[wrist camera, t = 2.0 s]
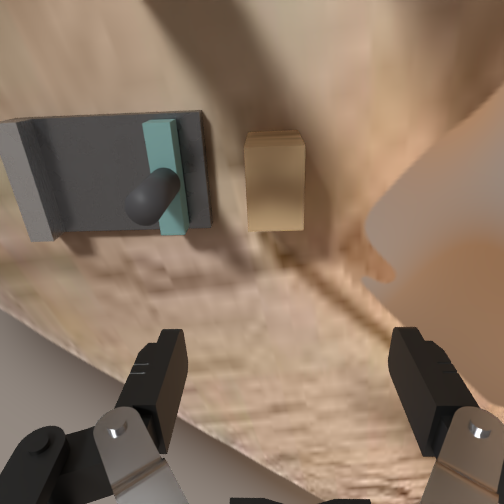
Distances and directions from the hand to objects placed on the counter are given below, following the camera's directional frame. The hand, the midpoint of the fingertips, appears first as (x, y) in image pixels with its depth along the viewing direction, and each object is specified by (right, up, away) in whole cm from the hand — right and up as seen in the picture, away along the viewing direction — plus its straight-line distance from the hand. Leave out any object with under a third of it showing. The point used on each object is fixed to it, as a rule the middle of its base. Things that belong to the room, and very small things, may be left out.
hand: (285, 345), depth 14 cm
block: (+1, +13, +24) cm, 27 cm away
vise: (-16, +12, +25) cm, 32 cm away
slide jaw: (-10, +11, +23) cm, 28 cm away
